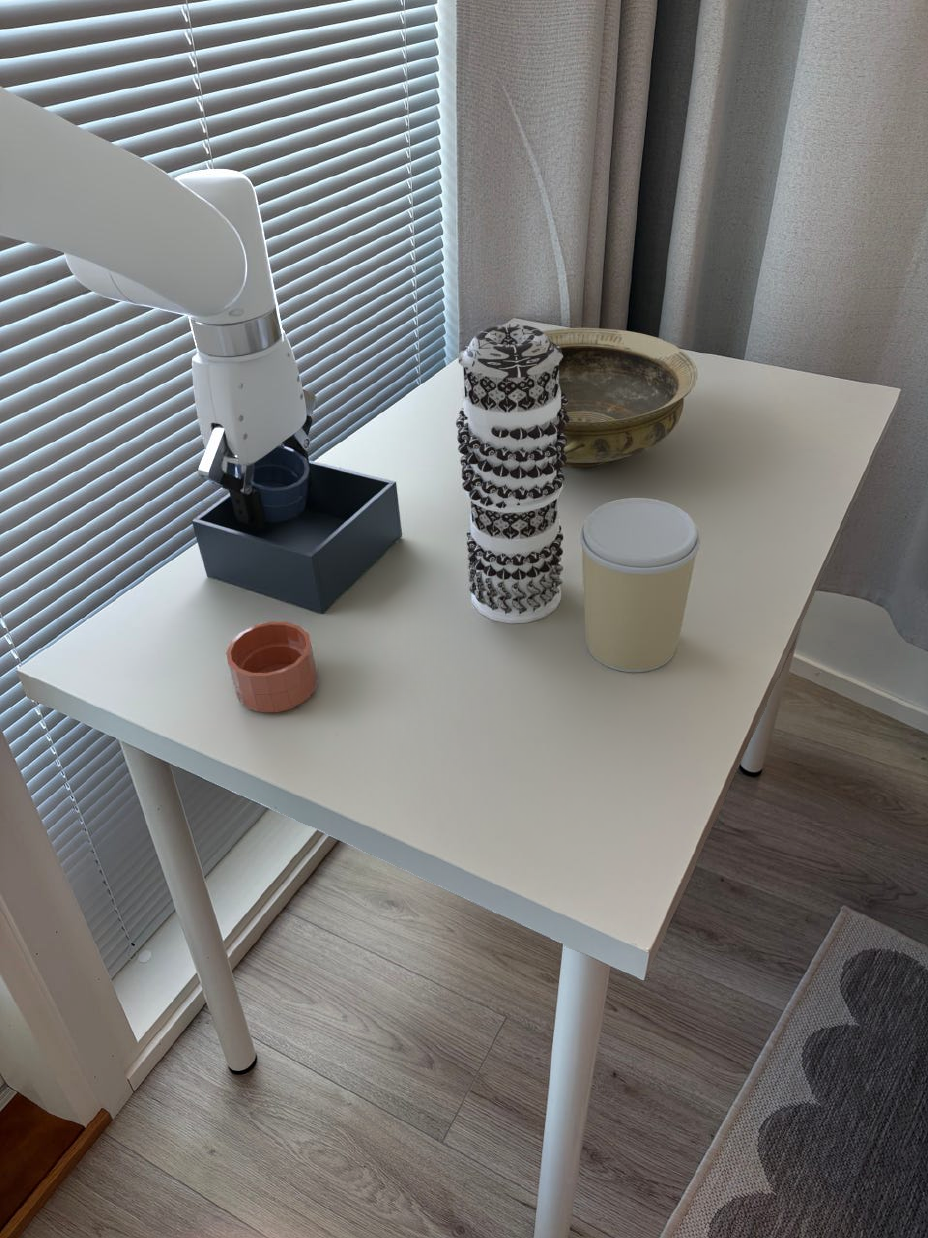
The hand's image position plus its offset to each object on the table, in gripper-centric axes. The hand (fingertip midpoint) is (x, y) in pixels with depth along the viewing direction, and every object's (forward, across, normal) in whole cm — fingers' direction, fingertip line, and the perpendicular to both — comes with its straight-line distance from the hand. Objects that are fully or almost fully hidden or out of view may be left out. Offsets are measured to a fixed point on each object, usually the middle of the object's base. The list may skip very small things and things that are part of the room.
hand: (275, 502), depth 93 cm
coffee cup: (+6, -1, +37) cm, 37 cm away
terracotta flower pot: (+5, +17, +13) cm, 22 cm away
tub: (+5, 0, +3) cm, 6 cm away
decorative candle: (+6, -3, +25) cm, 26 cm away
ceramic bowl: (+6, -30, +19) cm, 36 cm away
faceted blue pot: (0, 0, -1) cm, 1 cm away
